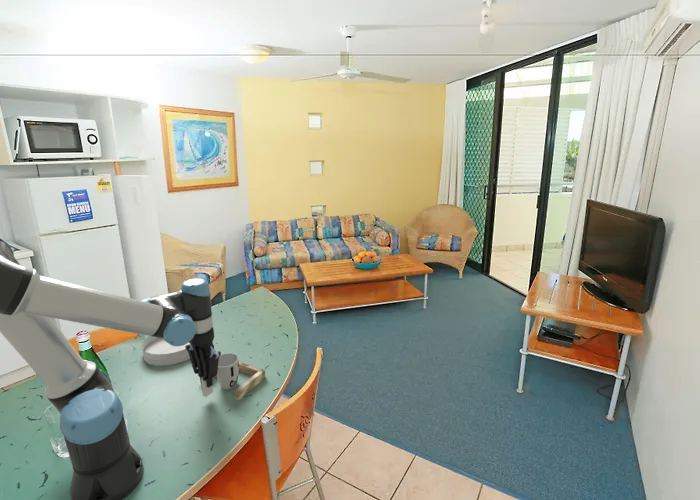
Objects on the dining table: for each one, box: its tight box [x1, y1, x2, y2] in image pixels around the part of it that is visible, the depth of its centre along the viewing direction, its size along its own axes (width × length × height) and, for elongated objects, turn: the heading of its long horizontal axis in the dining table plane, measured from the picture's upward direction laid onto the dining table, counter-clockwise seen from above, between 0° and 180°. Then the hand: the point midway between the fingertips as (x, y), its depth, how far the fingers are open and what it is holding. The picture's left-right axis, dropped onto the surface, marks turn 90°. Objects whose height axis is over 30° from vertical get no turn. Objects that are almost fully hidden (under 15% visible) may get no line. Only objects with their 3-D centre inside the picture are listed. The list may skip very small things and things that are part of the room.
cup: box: [216, 352, 240, 390], centre depth 126 cm, size 8×8×10 cm
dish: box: [141, 336, 190, 366], centre depth 148 cm, size 22×22×5 cm
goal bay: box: [212, 360, 266, 401], centre depth 129 cm, size 14×17×3 cm
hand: (207, 393), depth 119 cm, fingers closed
